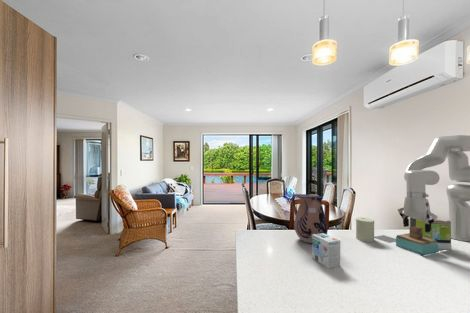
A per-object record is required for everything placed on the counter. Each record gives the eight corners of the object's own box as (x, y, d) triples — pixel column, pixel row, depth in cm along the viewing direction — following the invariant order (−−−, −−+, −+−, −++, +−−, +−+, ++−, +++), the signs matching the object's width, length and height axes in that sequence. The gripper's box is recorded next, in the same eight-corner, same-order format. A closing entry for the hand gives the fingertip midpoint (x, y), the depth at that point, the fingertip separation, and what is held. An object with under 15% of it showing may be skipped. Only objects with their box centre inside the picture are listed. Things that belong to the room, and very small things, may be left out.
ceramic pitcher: (320, 249, 111) (320, 199, 112) (282, 239, 125) (283, 194, 126) (332, 240, 124) (332, 195, 125) (296, 232, 138) (296, 191, 139)
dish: (410, 244, 121) (410, 234, 121) (437, 252, 109) (437, 242, 110) (396, 246, 116) (395, 237, 116) (422, 255, 105) (422, 245, 105)
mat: (383, 236, 133) (383, 235, 133) (401, 241, 124) (401, 240, 124) (372, 238, 130) (372, 237, 130) (389, 243, 120) (389, 242, 120)
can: (370, 237, 130) (370, 217, 130) (377, 243, 121) (377, 221, 121) (353, 236, 131) (353, 216, 132) (359, 242, 122) (359, 220, 122)
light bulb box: (311, 257, 101) (311, 233, 102) (323, 256, 104) (323, 232, 104) (328, 268, 91) (328, 241, 92) (341, 266, 93) (341, 240, 94)
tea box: (452, 250, 113) (451, 220, 113) (432, 249, 113) (431, 220, 113) (427, 240, 128) (427, 213, 128) (409, 239, 128) (409, 213, 128)
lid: (410, 234, 120) (410, 223, 121) (436, 242, 110) (436, 229, 110) (396, 237, 116) (396, 225, 116) (422, 244, 105) (421, 232, 106)
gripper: (441, 197, 107) (441, 233, 107) (402, 192, 123) (403, 223, 123) (431, 198, 104) (432, 235, 104) (393, 193, 120) (394, 225, 120)
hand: (416, 229), depth 113 cm, fingers open, 9 cm apart
